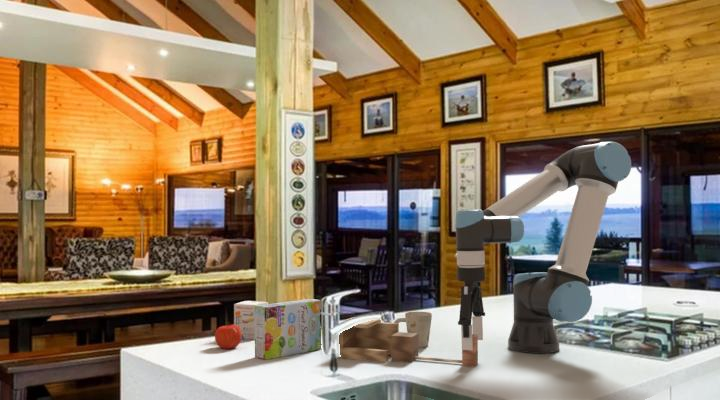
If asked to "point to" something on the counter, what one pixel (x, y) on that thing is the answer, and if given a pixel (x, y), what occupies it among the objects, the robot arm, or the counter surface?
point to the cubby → (368, 341)
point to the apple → (228, 336)
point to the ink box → (246, 318)
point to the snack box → (287, 328)
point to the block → (407, 351)
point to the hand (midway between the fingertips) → (472, 344)
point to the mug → (418, 325)
